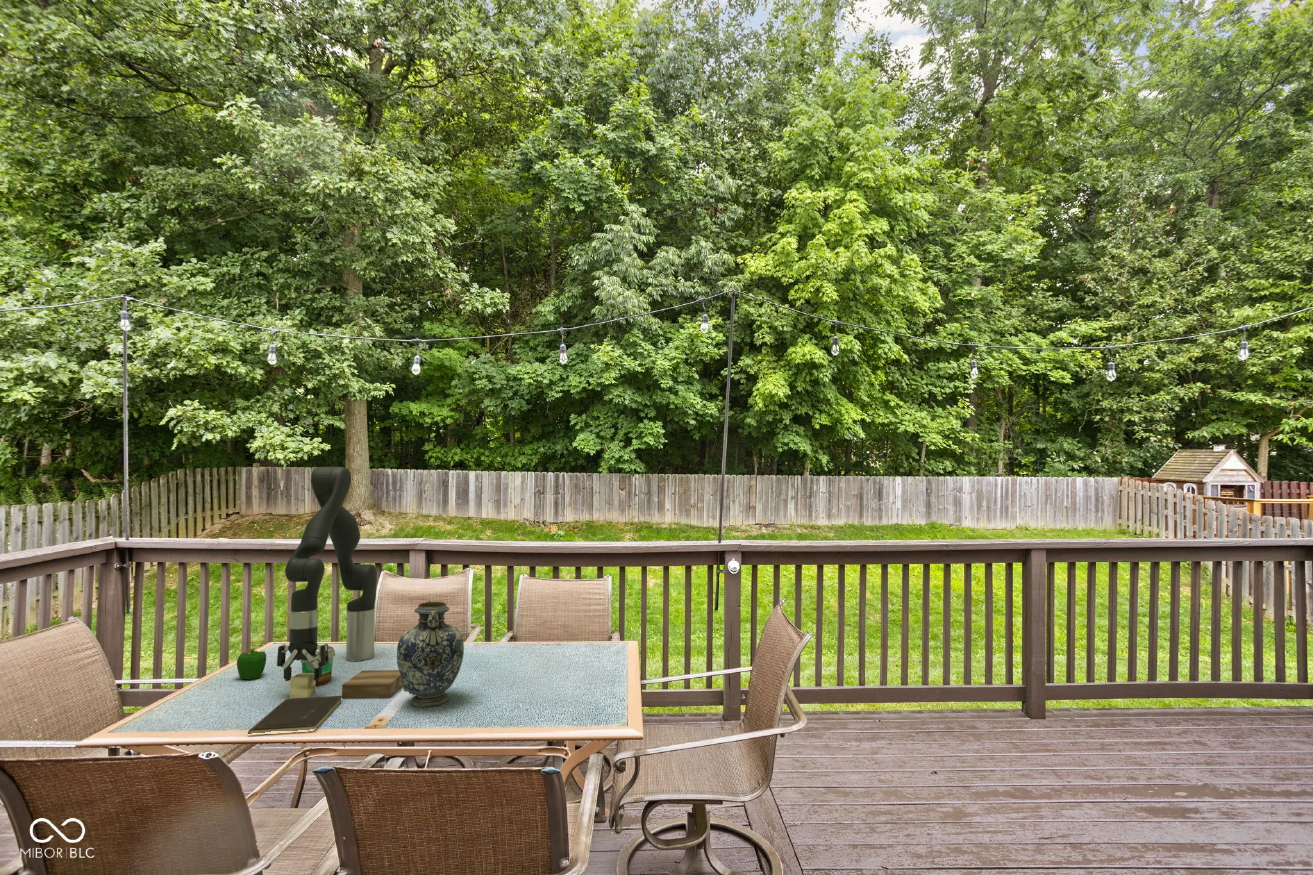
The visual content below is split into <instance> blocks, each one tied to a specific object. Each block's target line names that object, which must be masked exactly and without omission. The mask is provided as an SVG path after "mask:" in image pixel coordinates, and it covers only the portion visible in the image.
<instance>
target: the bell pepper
mask: <svg viewBox="0 0 1313 875" xmlns="http://www.w3.org/2000/svg"><path fill="white" fill-rule="evenodd" d="M266 664H267V653H266V651H265V650H263V651H257V650H256V649H255V648H254V647H251V648H250V651H249V653H248V652H241V653H240V654H239V656H237V659H236V669H237V672H238V675H239V678H240V679H241V680H249V681H250V680H255V679H258V678H261V676H262V675H263V673H264V670H265V667H266Z"/></svg>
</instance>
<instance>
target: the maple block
mask: <svg viewBox="0 0 1313 875" xmlns="http://www.w3.org/2000/svg"><path fill="white" fill-rule="evenodd" d="M315 683H316V681H314V673H302V672H298V673H297V674H295V675H294V676H291V678H290V680H289V699H291V698H308V697H312V696H313V695H314V694H316V686H315ZM311 695H312V696H311Z"/></svg>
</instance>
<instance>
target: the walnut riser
mask: <svg viewBox="0 0 1313 875" xmlns="http://www.w3.org/2000/svg"><path fill="white" fill-rule="evenodd" d="M401 679H402V677H401V675H400V672H399V669H395V670H394V669H387V670H386V669H384V670H383V669H382V670H381V669H380V670H375V669H374V670H371V669H369V670H366V669H365V670H361V671H360V672H358V673H357V674H355V675H354V676H352V677H351V678H350V679H348V680H347V681H344V683H343V684H342V685H341V696H343V697H342V698H341V700H342V699H343V700H345V699H390V698H392V696H393V695H395V694H396V693H397V692H398V691H399V690H400V689H402V688H403V683H401Z"/></svg>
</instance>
